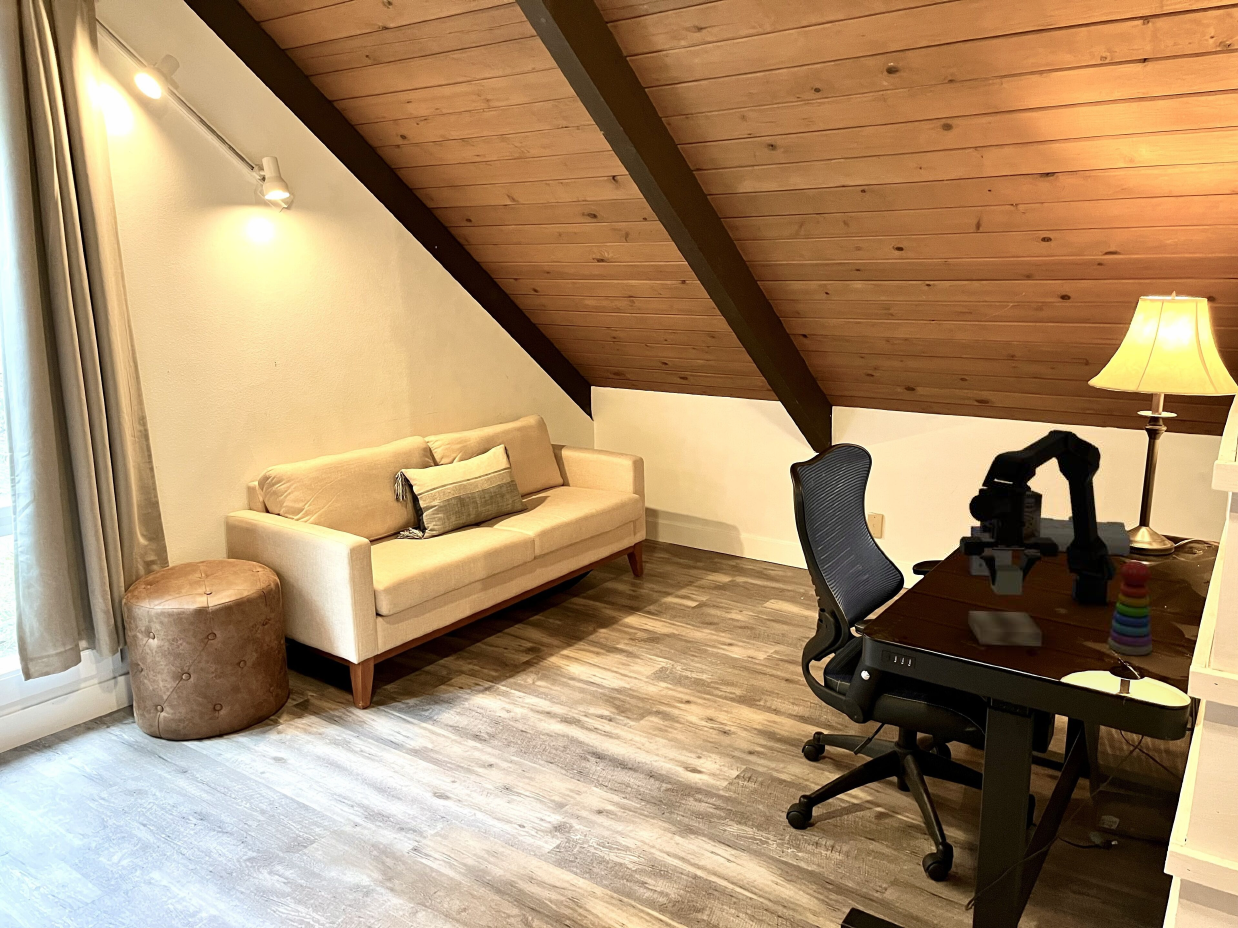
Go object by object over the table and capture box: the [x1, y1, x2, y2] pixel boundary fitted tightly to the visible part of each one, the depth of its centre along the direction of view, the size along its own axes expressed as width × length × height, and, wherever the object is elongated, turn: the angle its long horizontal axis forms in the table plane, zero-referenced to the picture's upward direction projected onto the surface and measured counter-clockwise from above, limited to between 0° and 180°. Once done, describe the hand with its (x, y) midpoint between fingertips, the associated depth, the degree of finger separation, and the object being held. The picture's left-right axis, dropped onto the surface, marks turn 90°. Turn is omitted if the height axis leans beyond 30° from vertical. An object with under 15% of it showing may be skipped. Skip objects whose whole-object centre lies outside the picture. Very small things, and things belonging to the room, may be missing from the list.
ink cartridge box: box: [969, 520, 1013, 576], centre depth 237 cm, size 10×6×14 cm, turn 78°
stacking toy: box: [1107, 560, 1153, 656], centre depth 185 cm, size 8×8×19 cm
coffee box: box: [1012, 489, 1043, 547], centre depth 259 cm, size 9×6×16 cm
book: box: [1040, 515, 1133, 557], centre depth 258 cm, size 19×28×8 cm
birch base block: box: [968, 610, 1043, 647], centre depth 196 cm, size 12×12×3 cm
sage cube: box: [990, 564, 1023, 596], centre depth 194 cm, size 5×5×5 cm
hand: (1006, 585), depth 194 cm, fingers closed on sage cube, 5 cm apart
